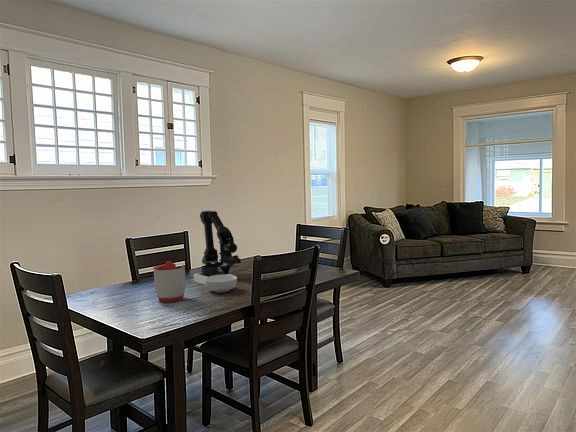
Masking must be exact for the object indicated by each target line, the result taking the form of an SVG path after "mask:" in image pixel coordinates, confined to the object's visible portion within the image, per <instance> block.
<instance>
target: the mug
mask: <svg viewBox="0 0 576 432" xmlns="http://www.w3.org/2000/svg"><path fill="white" fill-rule="evenodd" d="M200 268H201V269H200V270H201V272H202V275H203V276H207V277H210V276H214V275H221V272H220V270H219V267H217V268H216V267H210V265H205V264H204V265H201V267H200ZM201 272H200V273H201Z"/></svg>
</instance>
